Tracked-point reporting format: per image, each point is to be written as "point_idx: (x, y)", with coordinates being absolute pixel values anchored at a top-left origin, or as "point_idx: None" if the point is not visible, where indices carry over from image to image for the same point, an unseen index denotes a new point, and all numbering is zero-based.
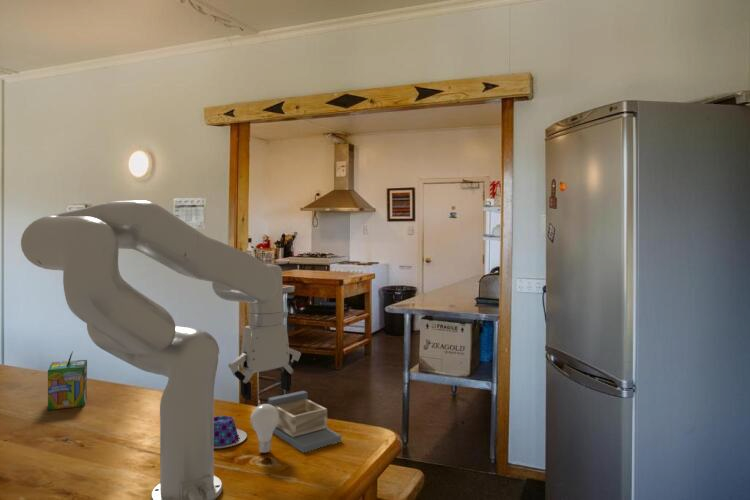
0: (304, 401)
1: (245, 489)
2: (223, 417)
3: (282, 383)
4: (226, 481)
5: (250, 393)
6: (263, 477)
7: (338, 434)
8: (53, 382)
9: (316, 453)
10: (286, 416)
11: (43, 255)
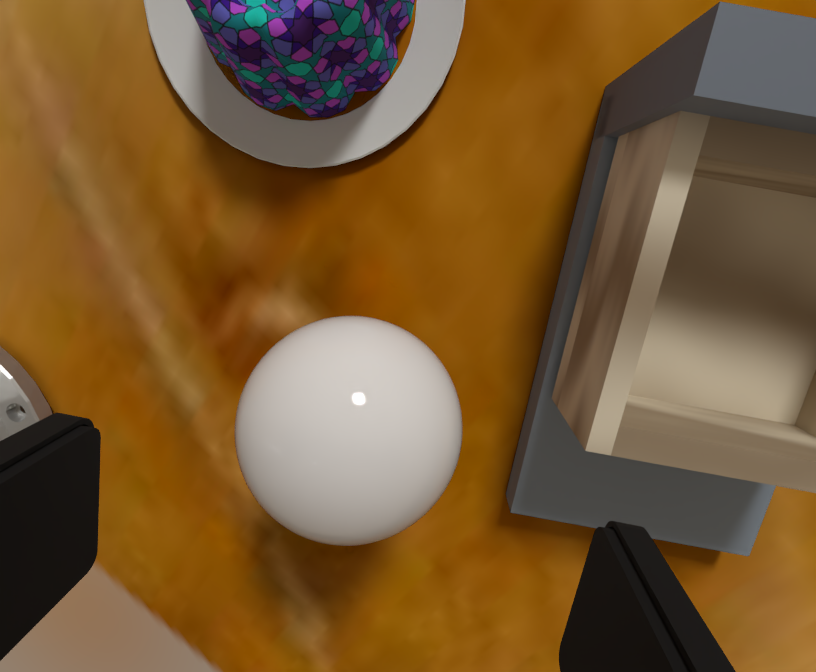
0: None
1: (130, 561)
2: None
3: (609, 606)
4: (101, 459)
5: (27, 622)
6: (233, 539)
7: (753, 536)
8: None
9: (545, 537)
10: (603, 351)
11: None
